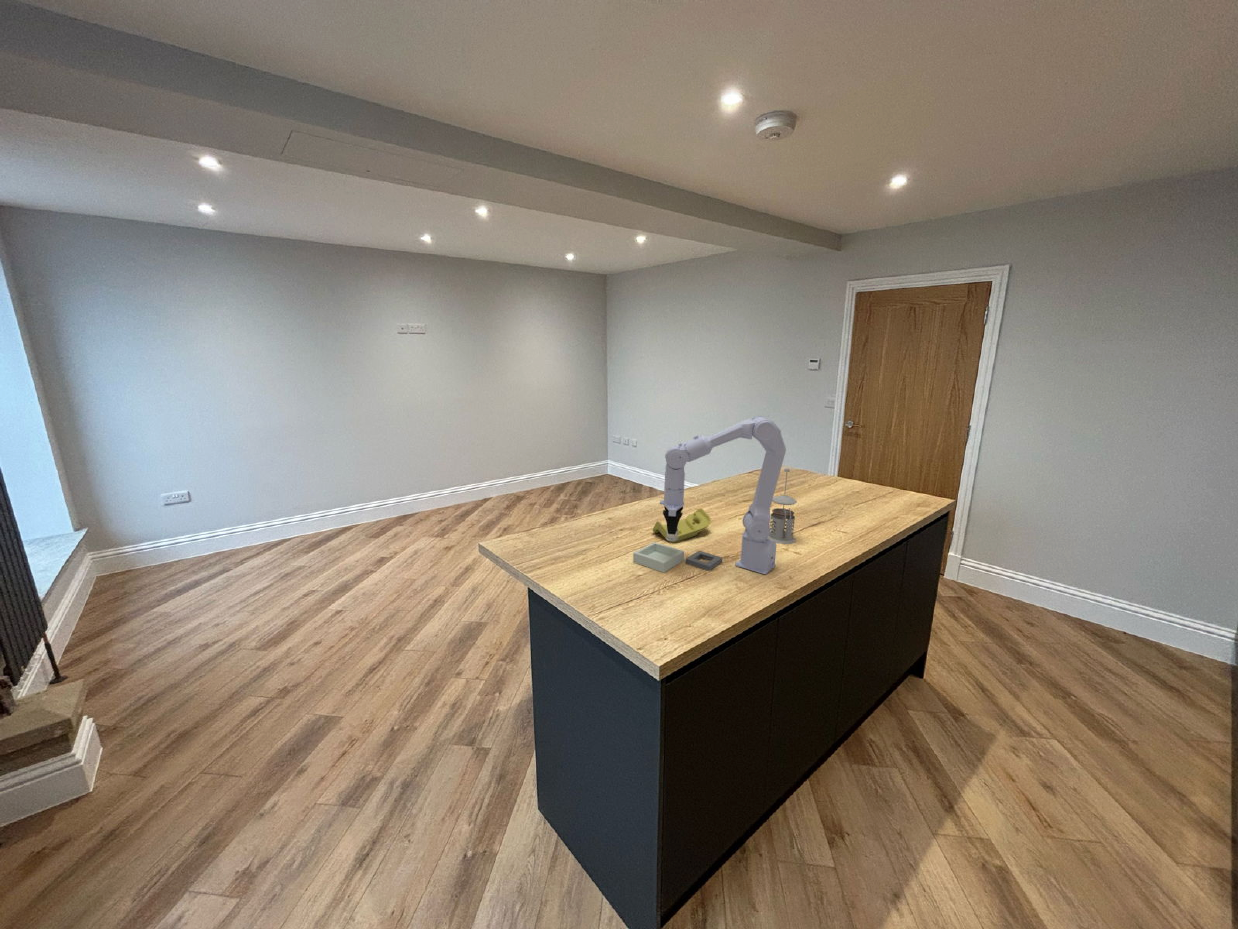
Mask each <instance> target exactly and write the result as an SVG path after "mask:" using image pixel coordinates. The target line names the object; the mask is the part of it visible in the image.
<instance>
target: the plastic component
mask: <svg viewBox="0 0 1238 929" xmlns="http://www.w3.org/2000/svg"><path fill="white" fill-rule="evenodd" d="M711 524H712V519H711V517H710V515H709V514H708V513H707V511H705V510H704V508H701V507H700V508H698V509H697V510H695V511H694V512H693V513H690V514H689V515H687V516H686V517H685V518H682V519H680V520H679V523H678V540H677V541H668V540H667V539H666V536H667V524H664V525H663V523H662V522H661V521H660V520H659V521H658V520H657V521H656V522H655V524H654V526H653V527H652V532H653V533H654V534H661V535H662V536H663V538H665V540H666V541H667V542H669V543H677V542H680V541H684V540H686V539H689V538H692V537H695V536H697V535H698V533H700V532H703V531H704V530H706V529H707V528H708V527H709V526H711Z"/></svg>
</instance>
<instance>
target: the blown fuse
mask: <svg viewBox="0 0 1238 929" xmlns="http://www.w3.org/2000/svg"><path fill="white" fill-rule="evenodd" d="M666 539H667V540H668V541H667V540H666ZM666 539H665V540H666V541H667V542H669V541H677V540H678V526H677V531H676V534H675V535H674V534H668V530H667V536H666Z"/></svg>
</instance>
